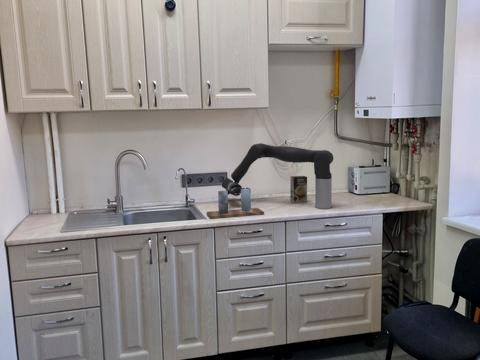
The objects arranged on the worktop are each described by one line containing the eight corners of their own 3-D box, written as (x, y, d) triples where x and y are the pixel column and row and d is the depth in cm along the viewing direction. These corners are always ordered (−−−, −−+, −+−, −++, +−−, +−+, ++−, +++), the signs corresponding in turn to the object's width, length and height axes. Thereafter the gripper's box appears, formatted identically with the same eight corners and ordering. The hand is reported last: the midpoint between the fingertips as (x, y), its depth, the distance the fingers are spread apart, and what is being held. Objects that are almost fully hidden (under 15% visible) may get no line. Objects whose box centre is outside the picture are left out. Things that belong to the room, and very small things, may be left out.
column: (244, 209, 247) (243, 188, 246) (252, 210, 245) (251, 189, 243) (239, 211, 243) (239, 189, 241) (247, 211, 240) (247, 190, 239)
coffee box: (294, 203, 269) (293, 177, 267) (290, 201, 276) (289, 176, 273) (307, 202, 272) (307, 176, 269) (303, 200, 278) (303, 175, 276)
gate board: (257, 210, 252) (257, 187, 250) (264, 214, 240) (263, 190, 238) (206, 214, 245) (205, 190, 243) (210, 219, 233) (209, 194, 231)
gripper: (223, 183, 266) (228, 187, 251) (245, 182, 270) (252, 185, 254) (223, 195, 268) (229, 200, 252) (246, 194, 271) (253, 198, 255)
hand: (241, 193), depth 253 cm, fingers open, 8 cm apart
